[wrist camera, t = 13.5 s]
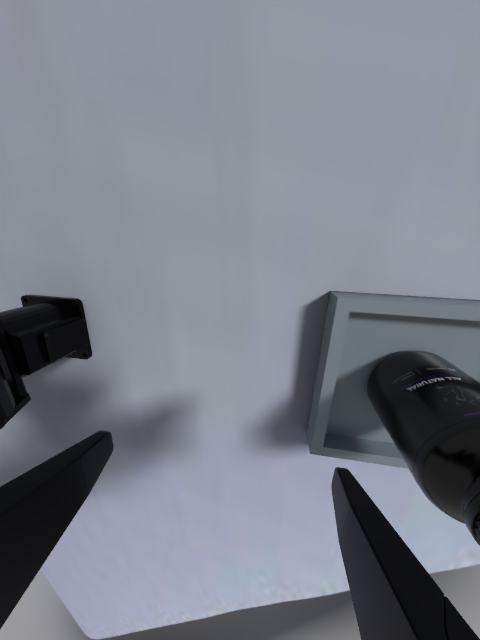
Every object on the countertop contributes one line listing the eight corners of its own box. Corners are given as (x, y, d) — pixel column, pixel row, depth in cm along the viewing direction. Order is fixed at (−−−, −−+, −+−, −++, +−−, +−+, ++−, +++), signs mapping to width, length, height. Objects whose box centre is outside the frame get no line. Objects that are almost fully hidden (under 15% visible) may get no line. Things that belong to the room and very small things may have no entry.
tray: (306, 433, 24) (310, 453, 21) (330, 290, 19) (338, 297, 17) (466, 455, 22) (490, 480, 19) (537, 303, 17) (579, 313, 15)
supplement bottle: (404, 332, 18) (616, 472, 7) (471, 376, 19) (776, 579, 7) (346, 389, 21) (434, 565, 9) (406, 428, 21) (562, 644, 10)
